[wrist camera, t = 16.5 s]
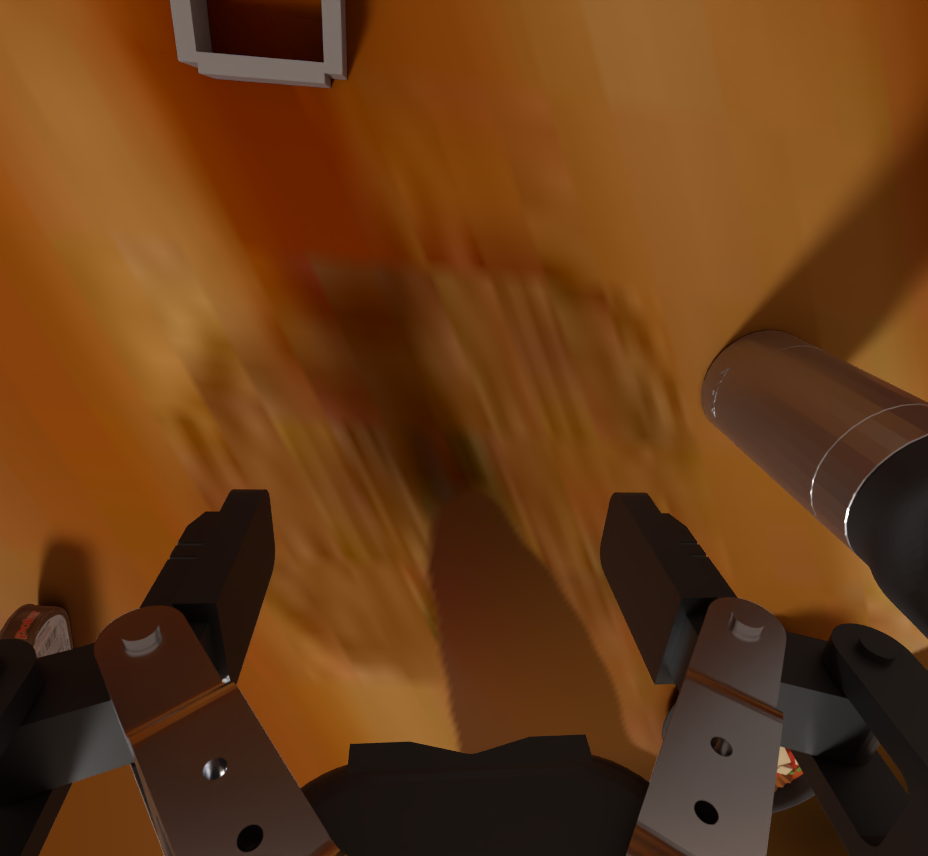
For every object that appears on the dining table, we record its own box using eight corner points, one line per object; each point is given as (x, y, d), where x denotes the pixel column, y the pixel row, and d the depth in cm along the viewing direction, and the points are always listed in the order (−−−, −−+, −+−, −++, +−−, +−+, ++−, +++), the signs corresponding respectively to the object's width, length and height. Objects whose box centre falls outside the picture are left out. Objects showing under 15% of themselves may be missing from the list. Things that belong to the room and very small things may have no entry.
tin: (33, 583, 49) (-34, 662, 41) (73, 586, 49) (14, 665, 42) (53, 699, 55) (-2, 787, 48) (88, 701, 56) (39, 788, 48)
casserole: (651, 646, 60) (686, 717, 52) (822, 609, 60) (882, 676, 52) (658, 781, 71) (687, 856, 64) (802, 751, 71) (848, 822, 64)
